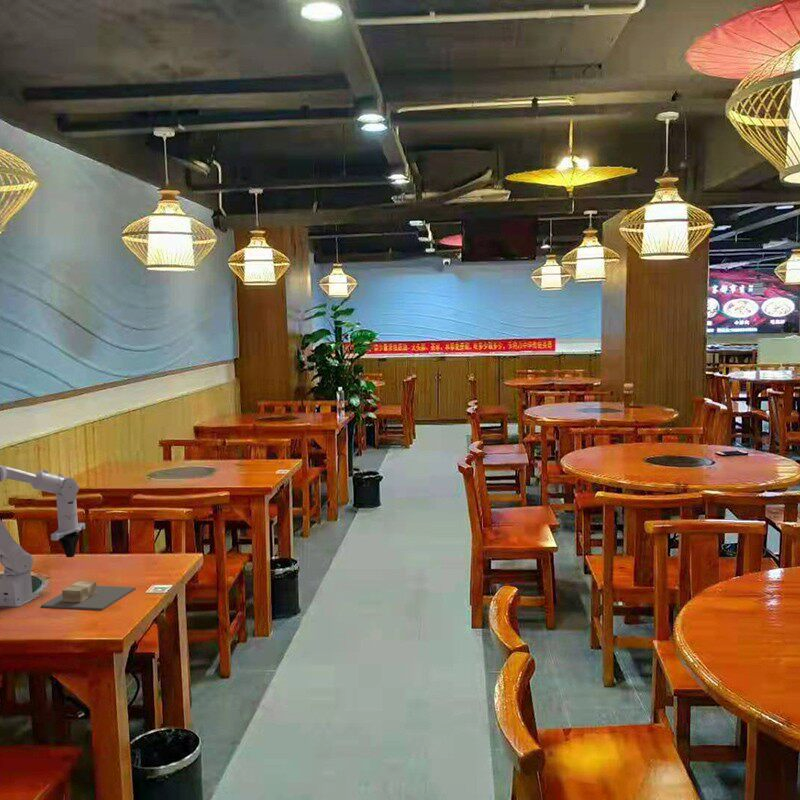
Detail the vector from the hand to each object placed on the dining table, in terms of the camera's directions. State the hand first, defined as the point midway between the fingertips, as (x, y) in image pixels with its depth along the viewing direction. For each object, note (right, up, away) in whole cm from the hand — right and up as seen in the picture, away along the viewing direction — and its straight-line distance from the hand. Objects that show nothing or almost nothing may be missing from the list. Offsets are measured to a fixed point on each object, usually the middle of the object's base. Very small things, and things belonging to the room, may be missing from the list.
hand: (70, 556), depth 240 cm
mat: (+11, -10, -11) cm, 19 cm away
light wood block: (+9, -8, -9) cm, 15 cm away
